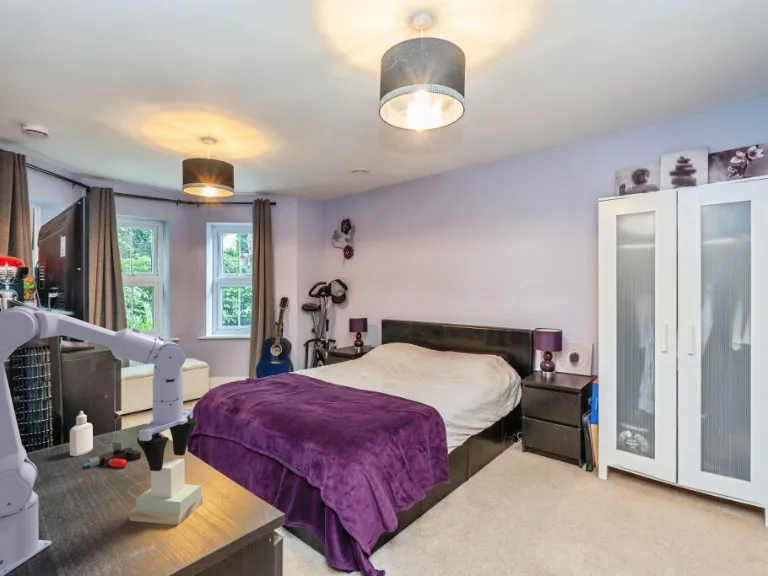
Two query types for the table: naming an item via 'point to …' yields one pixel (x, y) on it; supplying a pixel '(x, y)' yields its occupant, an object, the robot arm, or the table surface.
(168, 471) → the cream block
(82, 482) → the table surface
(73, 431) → the eye dropper bottle
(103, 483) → the table surface
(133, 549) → the table surface
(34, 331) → the robot arm
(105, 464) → the toy gun
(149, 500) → the sage top slab
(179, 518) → the oak base slab
